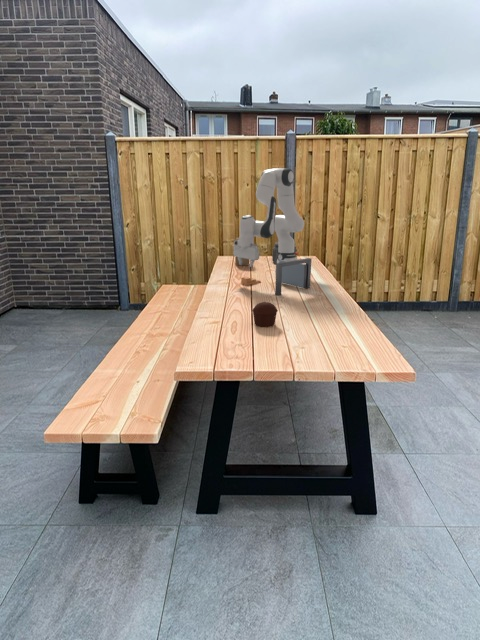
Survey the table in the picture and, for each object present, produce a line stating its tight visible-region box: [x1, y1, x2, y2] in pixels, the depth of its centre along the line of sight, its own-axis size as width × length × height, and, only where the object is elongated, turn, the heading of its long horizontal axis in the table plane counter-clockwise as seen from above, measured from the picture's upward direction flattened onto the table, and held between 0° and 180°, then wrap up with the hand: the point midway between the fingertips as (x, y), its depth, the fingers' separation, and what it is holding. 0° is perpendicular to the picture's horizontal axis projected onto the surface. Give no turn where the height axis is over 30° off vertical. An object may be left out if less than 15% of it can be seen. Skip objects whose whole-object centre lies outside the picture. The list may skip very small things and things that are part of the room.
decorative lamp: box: [271, 232, 298, 265], centre depth 349 cm, size 19×19×30 cm
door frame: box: [274, 257, 312, 296], centre depth 263 cm, size 27×2×18 cm, turn 131°
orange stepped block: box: [240, 276, 261, 286], centre depth 285 cm, size 12×5×4 cm, turn 131°
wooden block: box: [234, 237, 251, 267], centre depth 342 cm, size 10×10×20 cm
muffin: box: [251, 301, 278, 328], centre depth 204 cm, size 12×11×10 cm
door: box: [279, 260, 307, 289], centre depth 277 cm, size 22×1×14 cm, turn 41°
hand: (245, 265), depth 280 cm, fingers open, 8 cm apart
